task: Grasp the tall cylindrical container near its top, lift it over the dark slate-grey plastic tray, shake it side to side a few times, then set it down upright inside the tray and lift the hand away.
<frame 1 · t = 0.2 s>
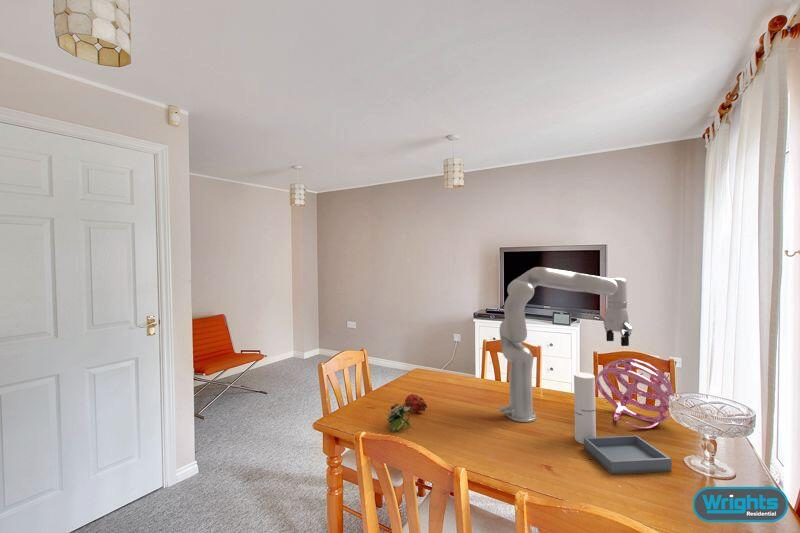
hand: (617, 343, 162), 31 cm above the table, tool pointing down, fingers open, 9 cm apart
spiral basket: (636, 422, 153), on the table
cylindrical container: (585, 440, 138), on the table
tray: (625, 459, 124), on the table
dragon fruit: (416, 412, 168), on the table
green leafy plant: (400, 427, 152), on the table
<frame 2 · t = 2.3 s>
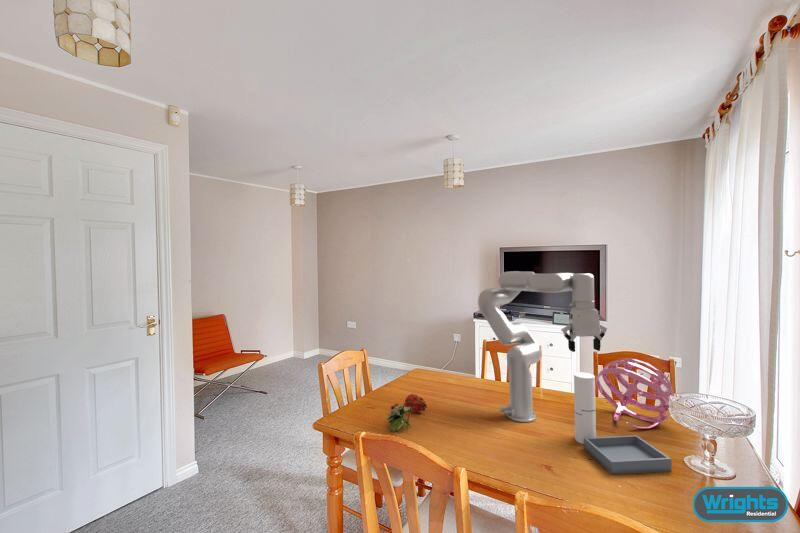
hand: (584, 350, 137), 35 cm above the table, tool pointing down, fingers open, 9 cm apart
nothing on the table moved.
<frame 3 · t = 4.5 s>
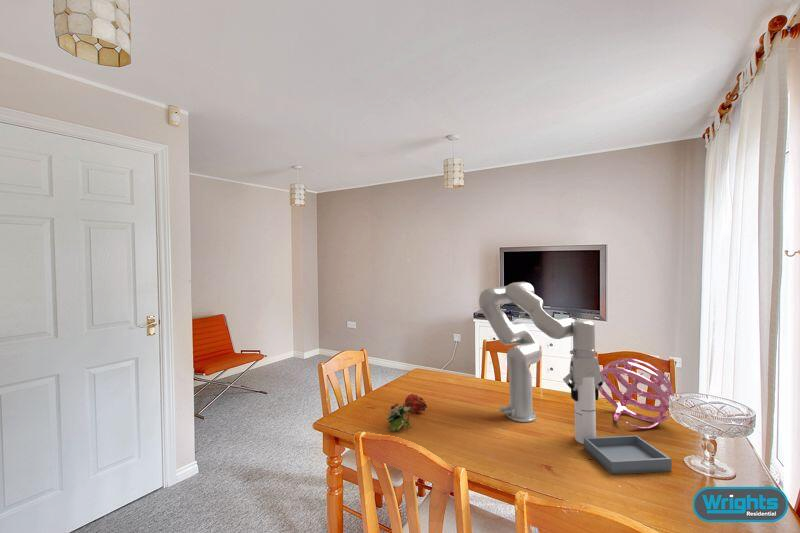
hand: (584, 399, 138), 16 cm above the table, tool pointing down, fingers closed on cylindrical container, 7 cm apart
cylindrical container: (585, 440, 138), on the table, touching gripper
everything else where it was.
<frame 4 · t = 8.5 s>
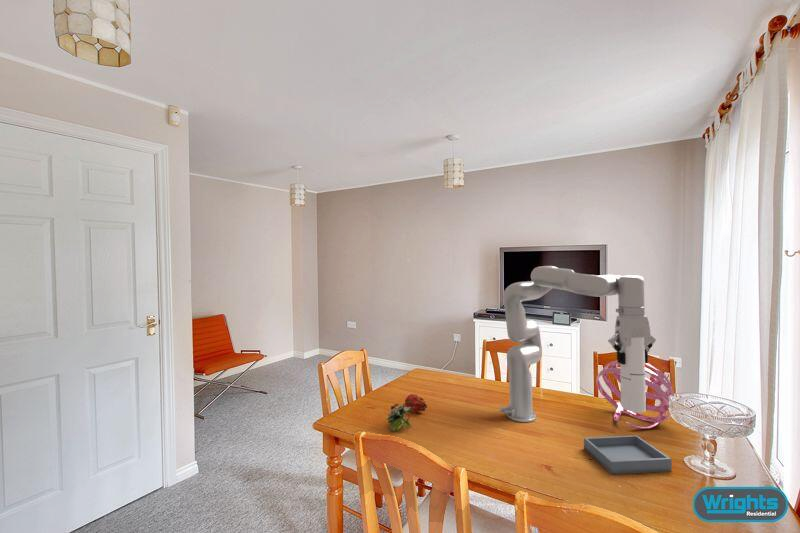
hand: (632, 362, 124), 33 cm above the table, tool pointing down, fingers closed on cylindrical container, 7 cm apart
cylindrical container: (633, 408, 124), point 17 cm above the table, touching gripper
everything else where it was.
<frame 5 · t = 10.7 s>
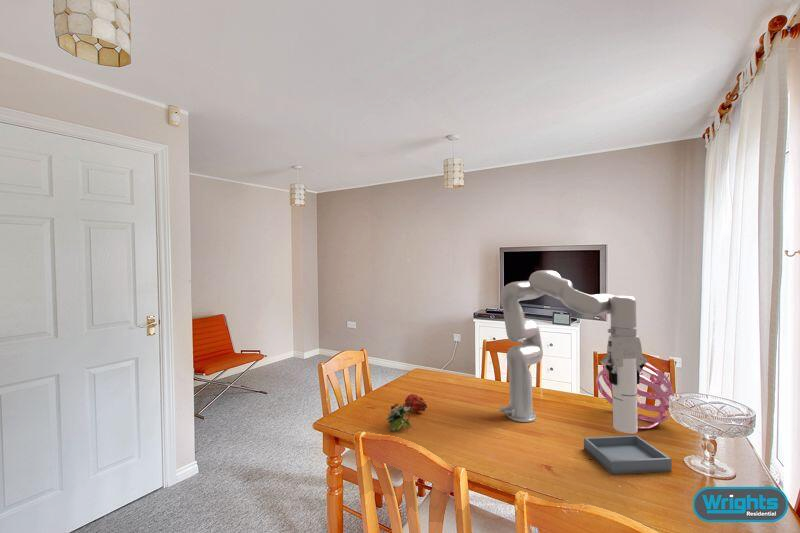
hand: (624, 382, 124), 27 cm above the table, tool pointing down, fingers closed on cylindrical container, 7 cm apart
cylindrical container: (625, 429, 124), point 11 cm above the table, touching gripper
everything else where it was.
when the fingers open (18 cm above the table, at t = 12.8 s): cylindrical container stays where it is, resting on tray.
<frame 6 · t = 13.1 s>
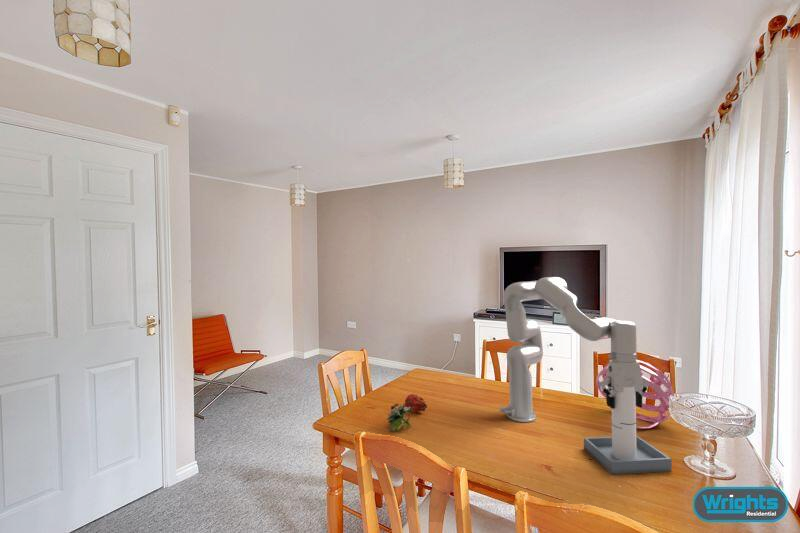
hand: (624, 406, 124), 18 cm above the table, tool pointing down, fingers open, 9 cm apart
cylindrical container: (624, 456, 124), point 1 cm above the table, touching tray
everything else where it was.
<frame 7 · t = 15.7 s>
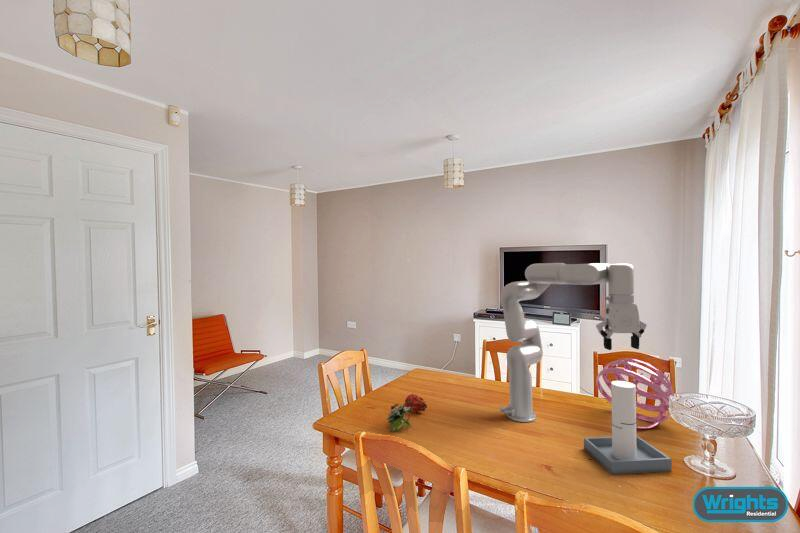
hand: (621, 348, 125), 38 cm above the table, tool pointing down, fingers open, 9 cm apart
nothing on the table moved.
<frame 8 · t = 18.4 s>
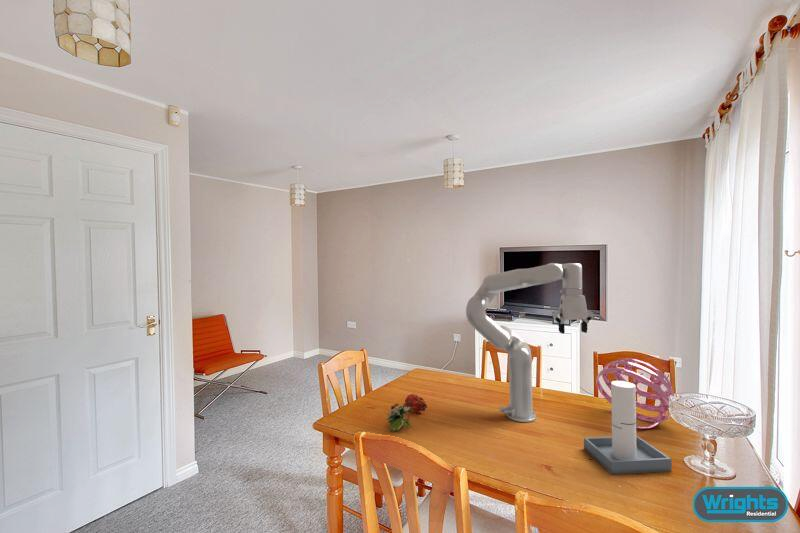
hand: (573, 332, 153), 38 cm above the table, tool pointing down, fingers open, 9 cm apart
nothing on the table moved.
at the end: cylindrical container inside the target area on the tray (0.3 cm from its centre), point 0.8 cm above the tray's base; cylindrical container tilted 0°; the gripper is holding nothing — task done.
